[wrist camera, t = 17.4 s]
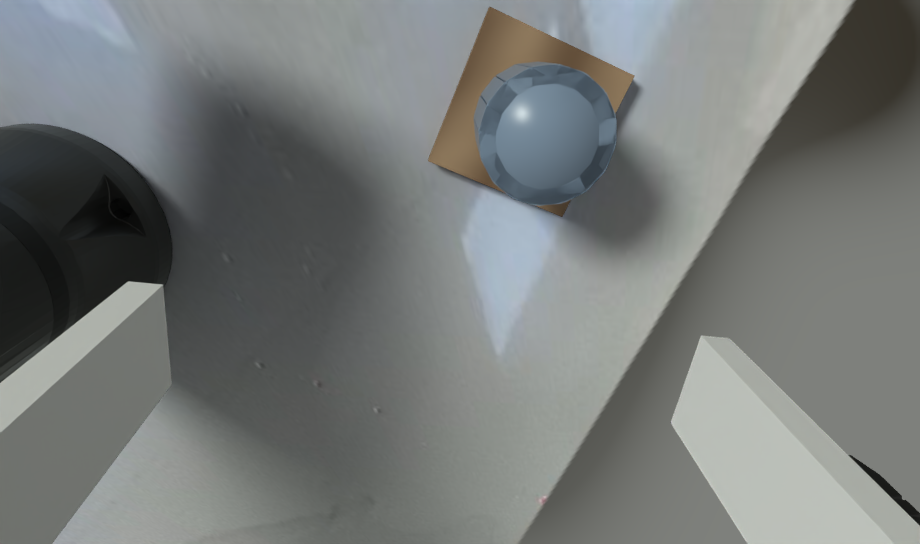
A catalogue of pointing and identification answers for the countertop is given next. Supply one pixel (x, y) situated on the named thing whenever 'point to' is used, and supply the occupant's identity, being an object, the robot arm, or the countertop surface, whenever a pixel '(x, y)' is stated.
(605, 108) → the cap
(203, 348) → the countertop surface
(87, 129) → the countertop surface
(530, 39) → the wooden square stand
